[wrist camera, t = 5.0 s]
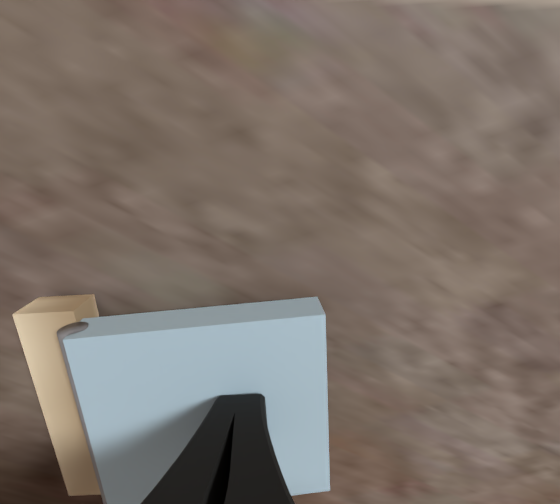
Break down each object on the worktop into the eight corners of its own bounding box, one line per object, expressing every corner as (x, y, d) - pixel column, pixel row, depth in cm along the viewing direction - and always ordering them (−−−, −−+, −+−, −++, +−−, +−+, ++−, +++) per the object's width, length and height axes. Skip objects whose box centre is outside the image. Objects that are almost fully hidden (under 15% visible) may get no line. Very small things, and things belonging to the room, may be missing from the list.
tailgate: (98, 520, 11) (330, 490, 12) (46, 341, 9) (325, 314, 10) (111, 485, 12) (322, 459, 13) (68, 319, 11) (317, 296, 11)
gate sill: (86, 466, 14) (69, 496, 13) (38, 297, 12) (12, 314, 10) (133, 464, 14) (119, 493, 12) (93, 294, 12) (73, 311, 10)
